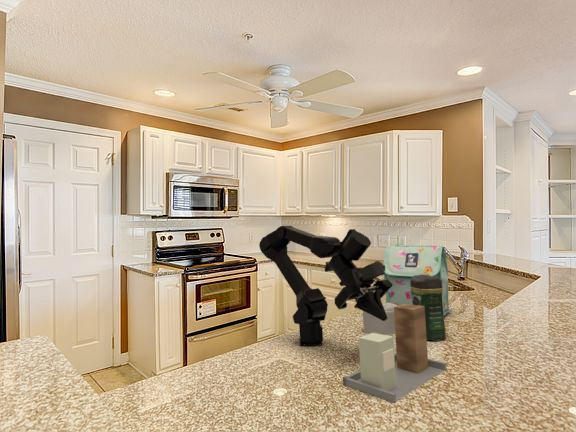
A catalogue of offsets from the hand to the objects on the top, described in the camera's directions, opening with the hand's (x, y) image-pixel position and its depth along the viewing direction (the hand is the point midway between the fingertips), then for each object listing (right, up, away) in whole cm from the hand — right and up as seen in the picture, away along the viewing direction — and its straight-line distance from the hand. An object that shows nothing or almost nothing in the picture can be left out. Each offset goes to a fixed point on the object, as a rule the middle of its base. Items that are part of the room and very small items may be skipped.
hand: (385, 319), depth 89 cm
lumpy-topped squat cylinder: (+7, -12, +29) cm, 33 cm away
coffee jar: (+19, -11, +20) cm, 30 cm away
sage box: (-6, -9, -15) cm, 18 cm away
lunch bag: (+27, -13, +52) cm, 60 cm away
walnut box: (+5, -9, -5) cm, 12 cm away
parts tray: (0, -10, -10) cm, 14 cm away
